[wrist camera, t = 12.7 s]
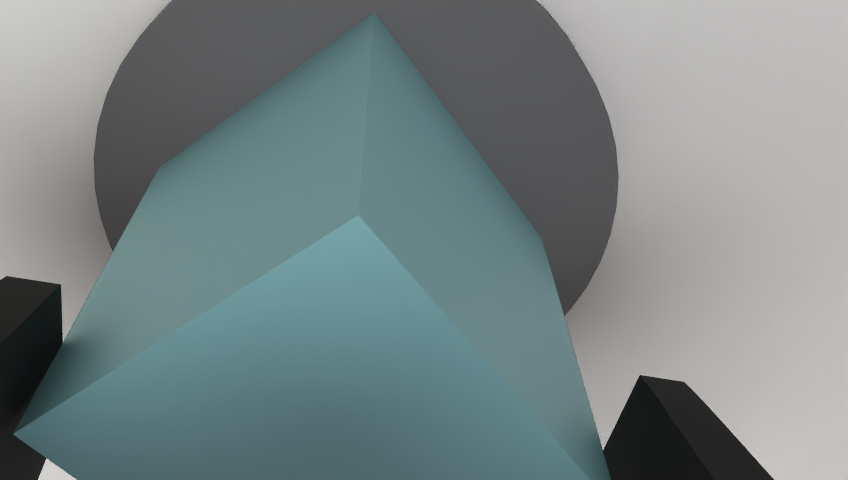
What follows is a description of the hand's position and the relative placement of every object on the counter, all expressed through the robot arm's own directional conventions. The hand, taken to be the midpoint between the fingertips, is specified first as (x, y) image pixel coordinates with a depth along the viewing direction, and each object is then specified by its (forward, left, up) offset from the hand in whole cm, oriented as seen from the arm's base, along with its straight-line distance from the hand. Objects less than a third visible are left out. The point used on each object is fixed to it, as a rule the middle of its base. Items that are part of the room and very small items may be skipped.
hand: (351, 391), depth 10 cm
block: (0, 0, -5) cm, 5 cm away
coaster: (0, 0, -6) cm, 6 cm away
